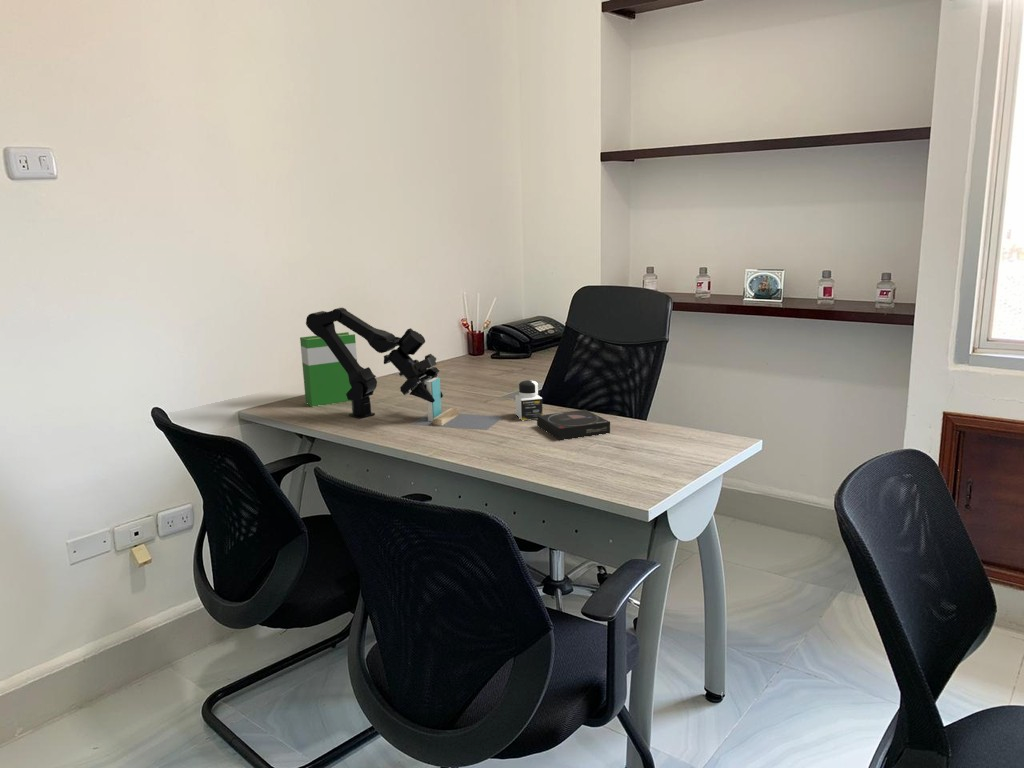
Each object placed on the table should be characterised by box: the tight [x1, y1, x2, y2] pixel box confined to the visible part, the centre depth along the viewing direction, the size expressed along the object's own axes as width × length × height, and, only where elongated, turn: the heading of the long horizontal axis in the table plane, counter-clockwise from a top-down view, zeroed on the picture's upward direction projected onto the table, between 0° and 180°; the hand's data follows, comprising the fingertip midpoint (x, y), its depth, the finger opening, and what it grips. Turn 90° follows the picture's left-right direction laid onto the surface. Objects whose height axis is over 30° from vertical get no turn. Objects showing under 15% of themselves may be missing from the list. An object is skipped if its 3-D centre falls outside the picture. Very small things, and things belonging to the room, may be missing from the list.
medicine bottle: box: [514, 379, 544, 421], centre depth 248 cm, size 7×7×12 cm
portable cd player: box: [536, 409, 611, 441], centre depth 234 cm, size 16×17×4 cm
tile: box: [426, 377, 443, 421], centre depth 247 cm, size 2×6×13 cm, turn 161°
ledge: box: [433, 407, 460, 426], centre depth 247 cm, size 3×14×2 cm, turn 161°
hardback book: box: [299, 331, 358, 407], centre depth 275 cm, size 18×7×24 cm, turn 122°
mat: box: [410, 413, 505, 431], centre depth 246 cm, size 26×16×1 cm, turn 71°
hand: (438, 399), depth 247 cm, fingers closed on tile, 6 cm apart
